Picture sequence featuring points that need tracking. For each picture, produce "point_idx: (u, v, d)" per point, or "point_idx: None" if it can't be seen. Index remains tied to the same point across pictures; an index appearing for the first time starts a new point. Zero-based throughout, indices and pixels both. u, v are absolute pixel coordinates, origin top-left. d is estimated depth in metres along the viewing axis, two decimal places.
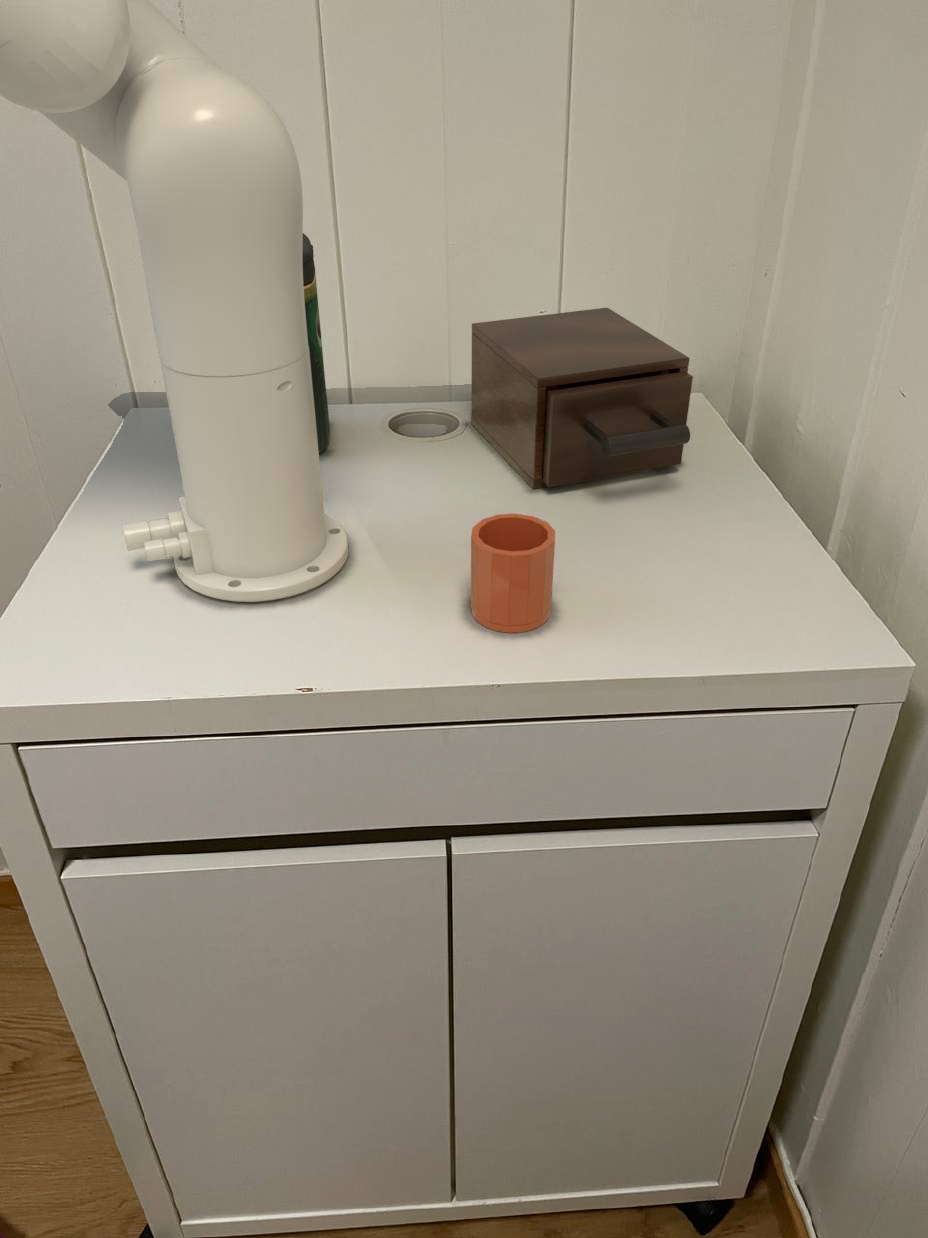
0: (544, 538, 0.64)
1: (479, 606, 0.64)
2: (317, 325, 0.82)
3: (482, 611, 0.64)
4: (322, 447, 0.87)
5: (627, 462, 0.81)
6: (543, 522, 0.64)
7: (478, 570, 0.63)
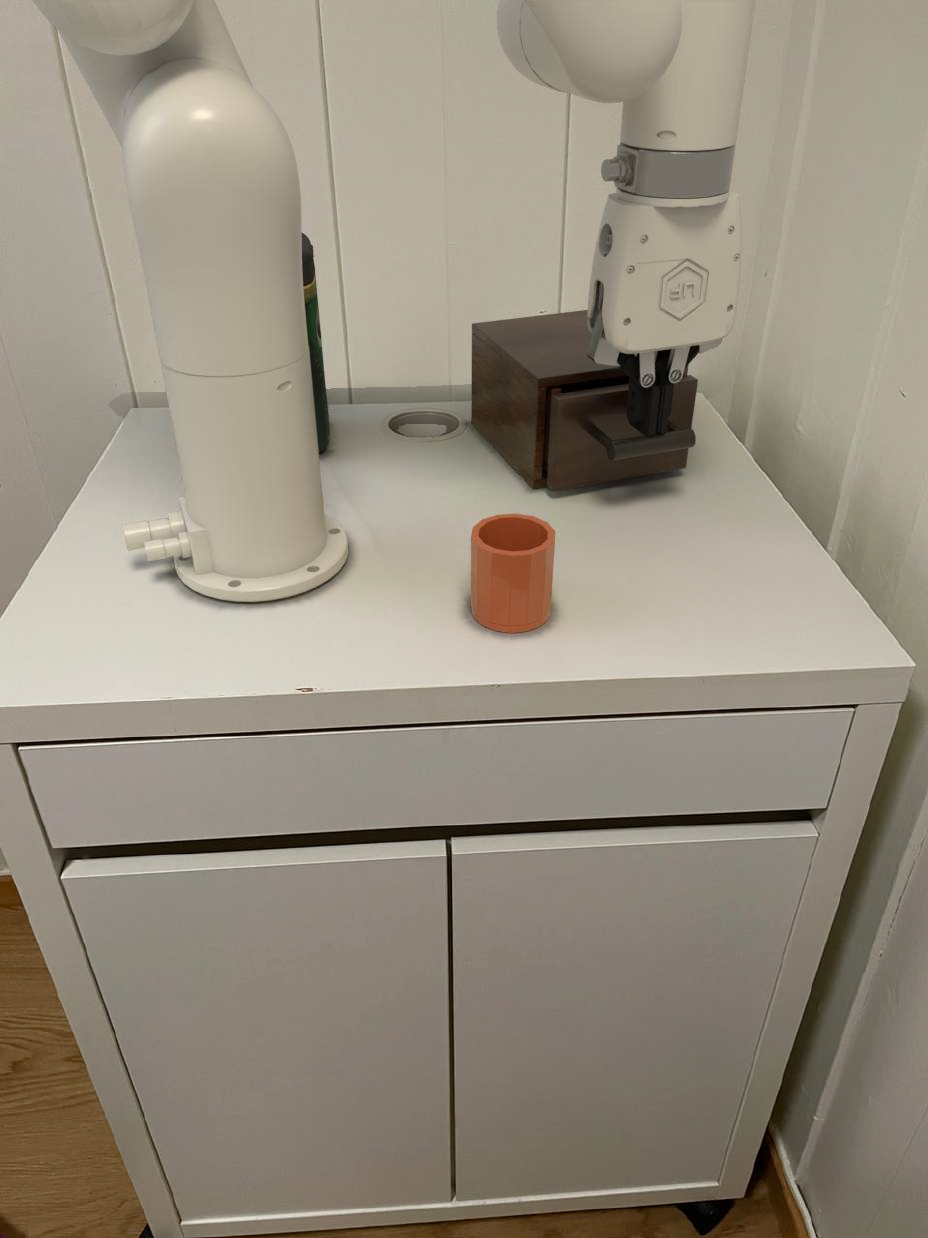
0: (544, 538, 0.64)
1: (479, 606, 0.64)
2: (317, 325, 0.82)
3: (482, 611, 0.64)
4: (322, 447, 0.87)
5: (632, 466, 0.81)
6: (543, 522, 0.64)
7: (478, 570, 0.63)
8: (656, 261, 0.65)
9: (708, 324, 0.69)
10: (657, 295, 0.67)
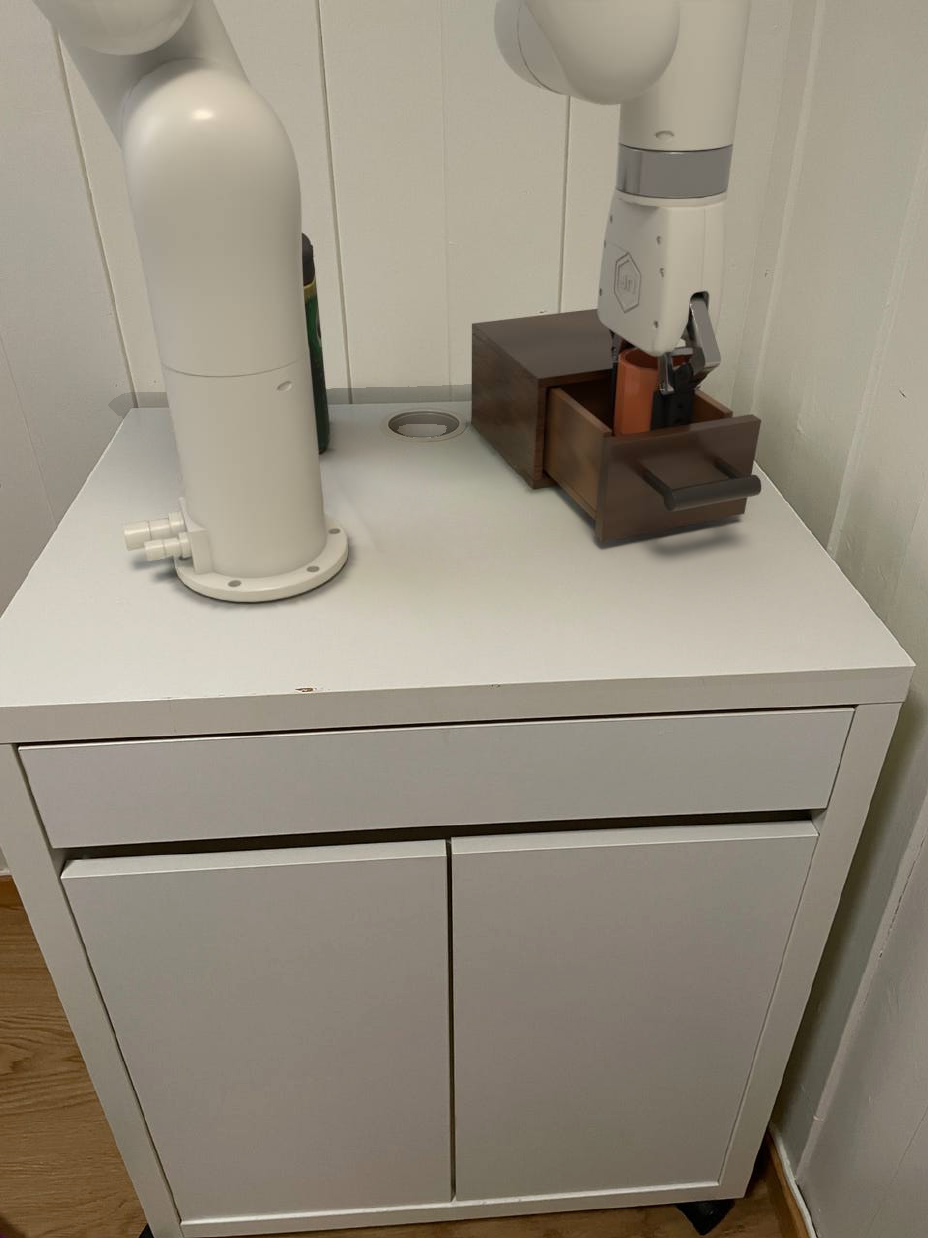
0: (680, 364, 0.74)
1: (624, 424, 0.74)
2: (317, 325, 0.82)
3: (626, 428, 0.74)
4: (322, 447, 0.87)
5: (687, 513, 0.74)
6: None
7: (625, 389, 0.73)
8: (614, 244, 0.70)
9: (640, 330, 0.69)
10: (614, 277, 0.71)
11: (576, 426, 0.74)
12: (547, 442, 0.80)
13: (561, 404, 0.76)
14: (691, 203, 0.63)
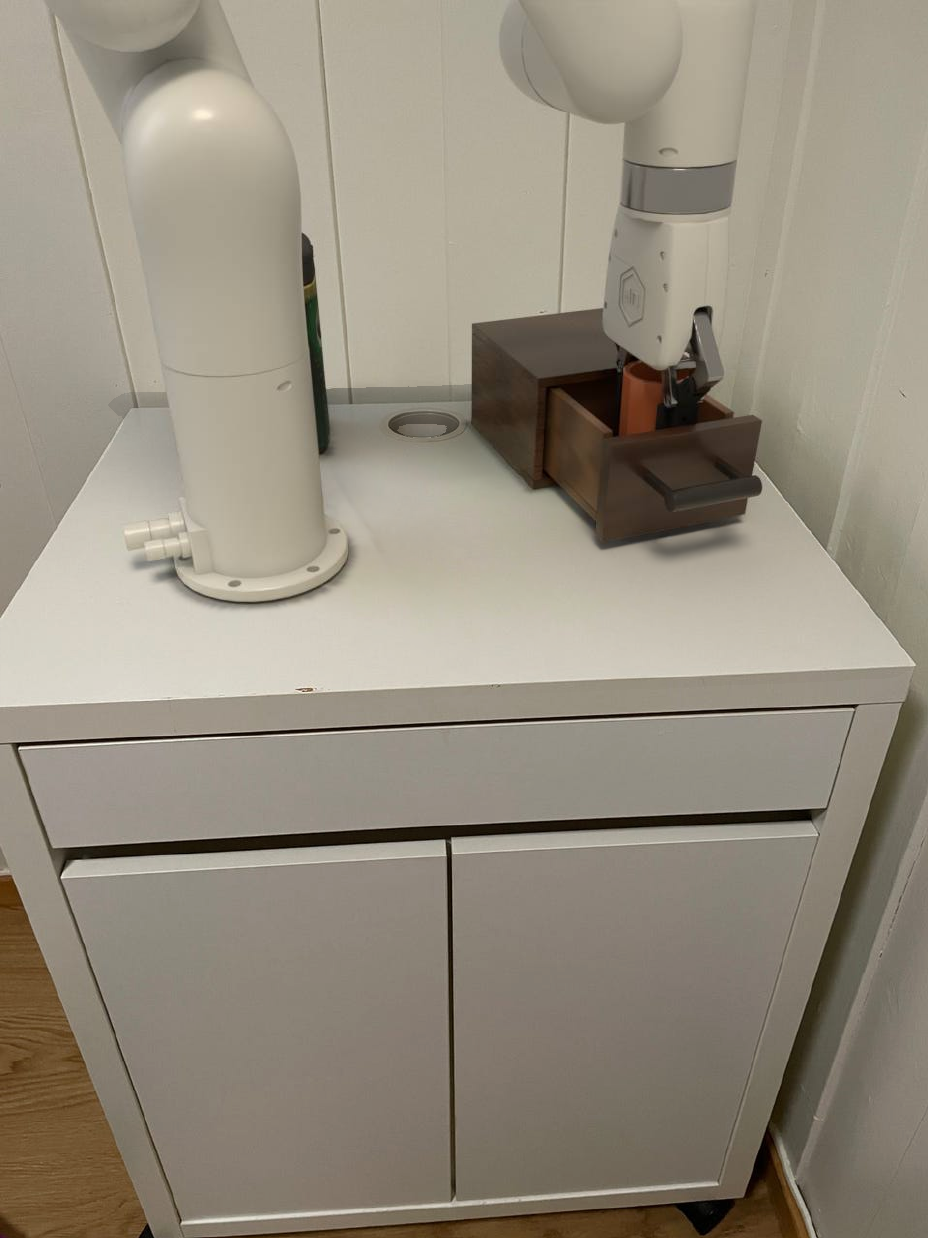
0: (685, 376, 0.74)
1: None
2: (317, 325, 0.82)
3: None
4: (322, 447, 0.87)
5: (688, 513, 0.74)
6: None
7: (630, 402, 0.73)
8: (619, 258, 0.70)
9: (644, 344, 0.69)
10: (618, 291, 0.71)
11: (577, 426, 0.74)
12: (548, 442, 0.80)
13: (562, 405, 0.76)
14: (694, 219, 0.64)
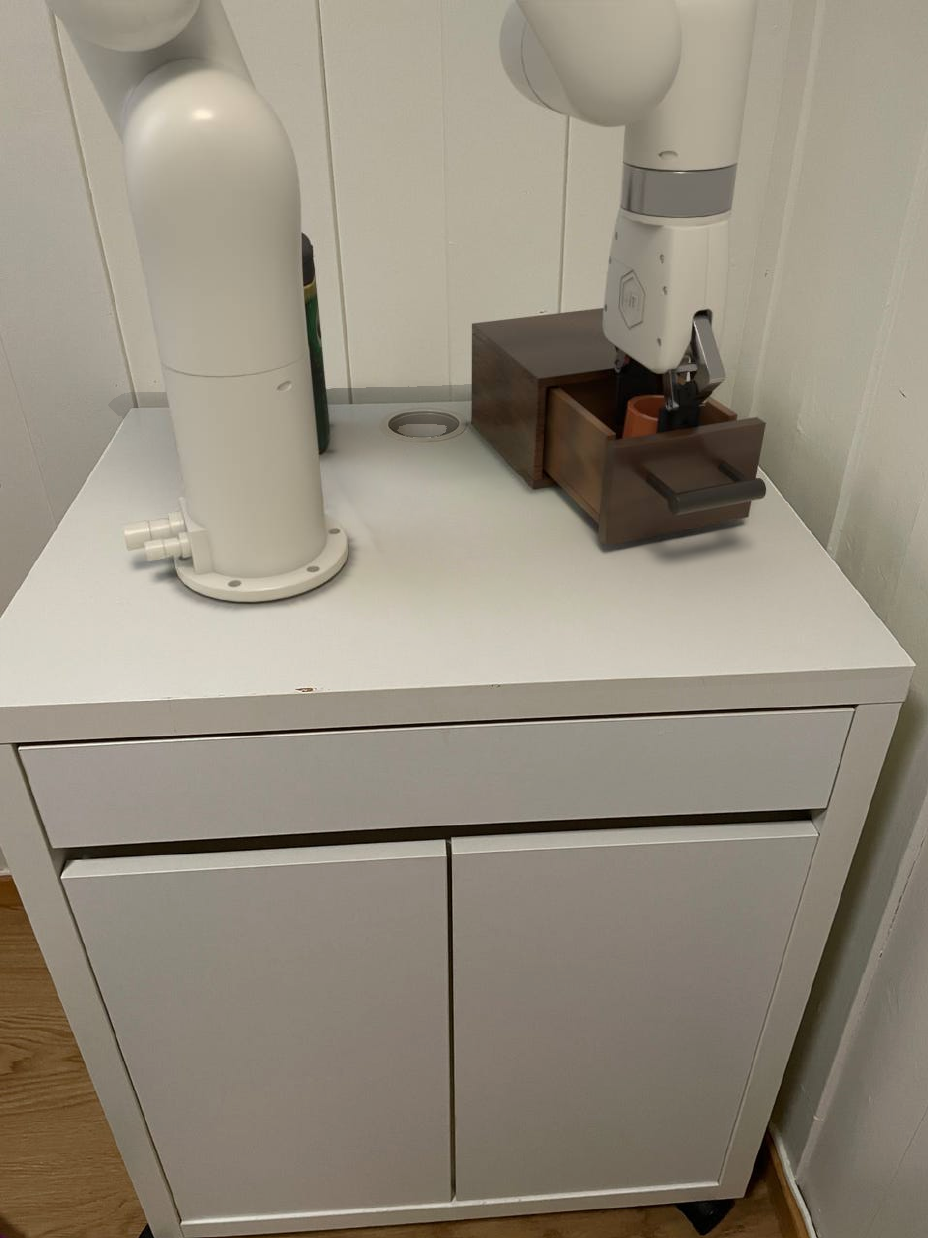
0: None
1: None
2: (317, 325, 0.82)
3: None
4: (322, 447, 0.87)
5: (691, 516, 0.74)
6: None
7: (632, 436, 0.75)
8: (619, 261, 0.70)
9: (644, 347, 0.69)
10: (618, 294, 0.71)
11: (579, 429, 0.74)
12: (550, 445, 0.79)
13: (564, 407, 0.76)
14: (694, 222, 0.64)
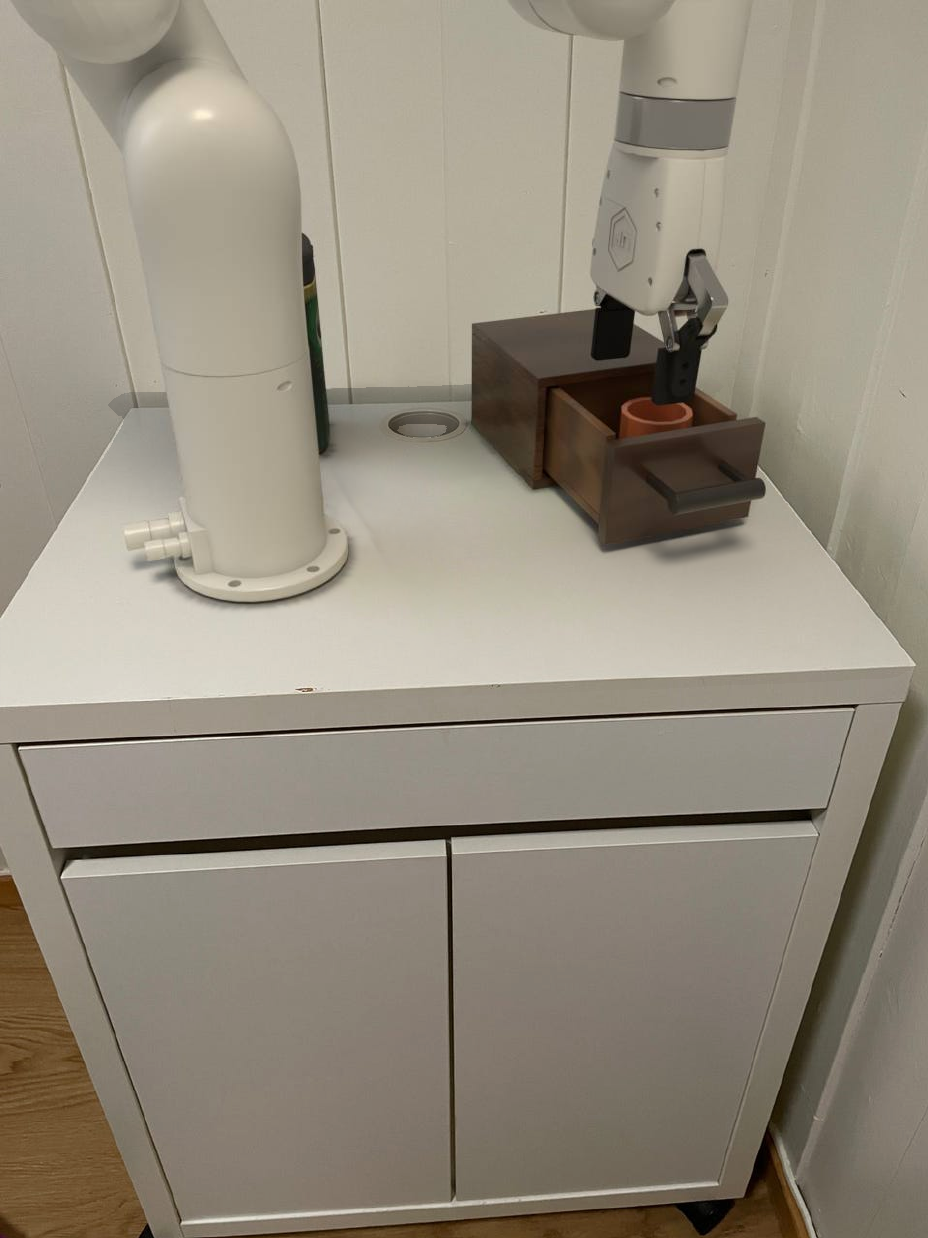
0: (681, 416, 0.76)
1: None
2: (317, 325, 0.82)
3: None
4: (322, 447, 0.87)
5: (691, 516, 0.74)
6: (680, 403, 0.76)
7: None
8: (610, 199, 0.68)
9: (634, 289, 0.67)
10: (608, 235, 0.69)
11: (579, 429, 0.74)
12: (550, 445, 0.80)
13: (564, 407, 0.76)
14: (691, 155, 0.62)
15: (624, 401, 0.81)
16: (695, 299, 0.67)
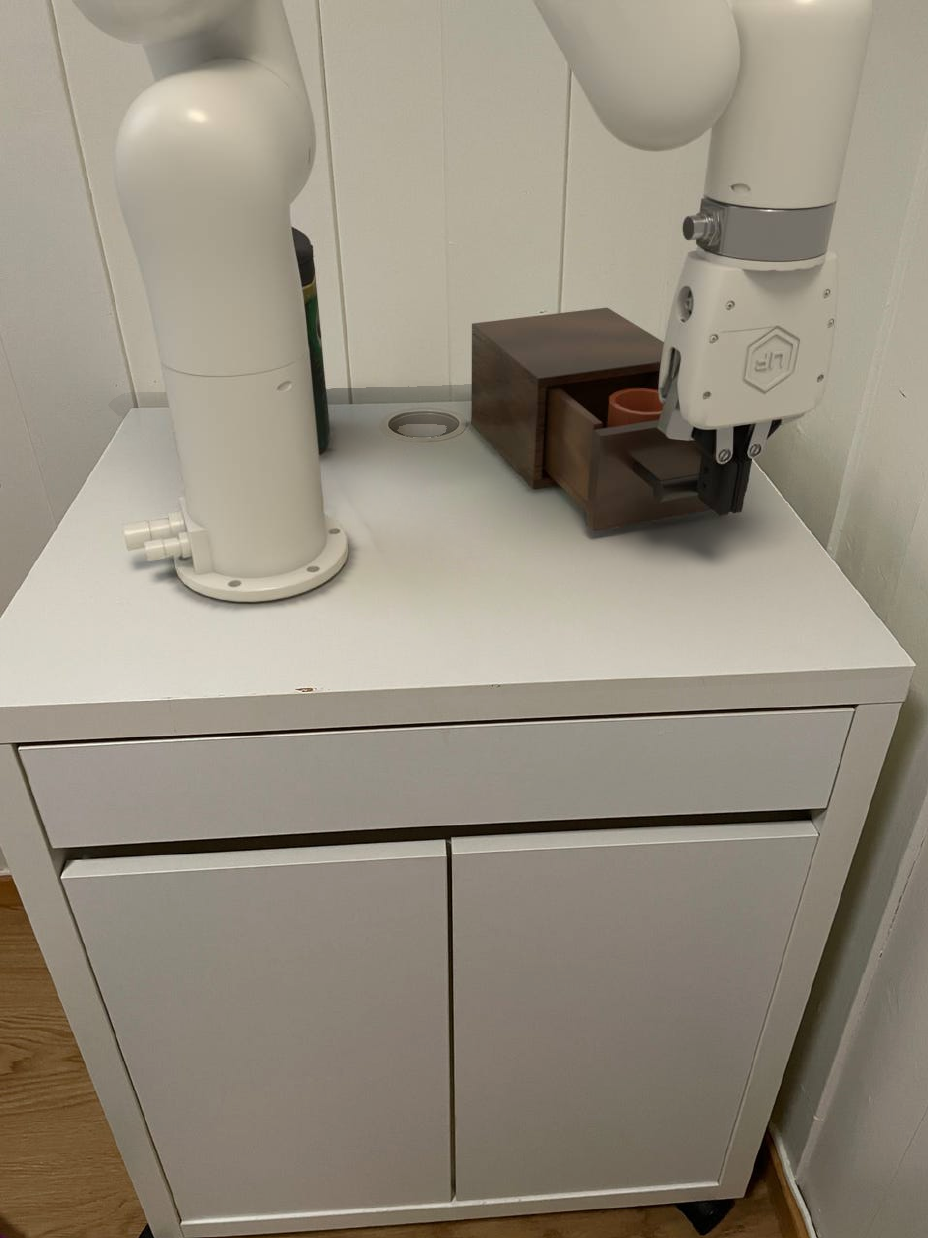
0: None
1: None
2: (317, 325, 0.82)
3: None
4: (322, 447, 0.87)
5: (677, 504, 0.75)
6: None
7: None
8: (742, 329, 0.58)
9: (796, 396, 0.62)
10: (741, 366, 0.59)
11: (567, 419, 0.75)
12: None
13: (553, 398, 0.77)
14: None
15: (613, 392, 0.83)
16: None
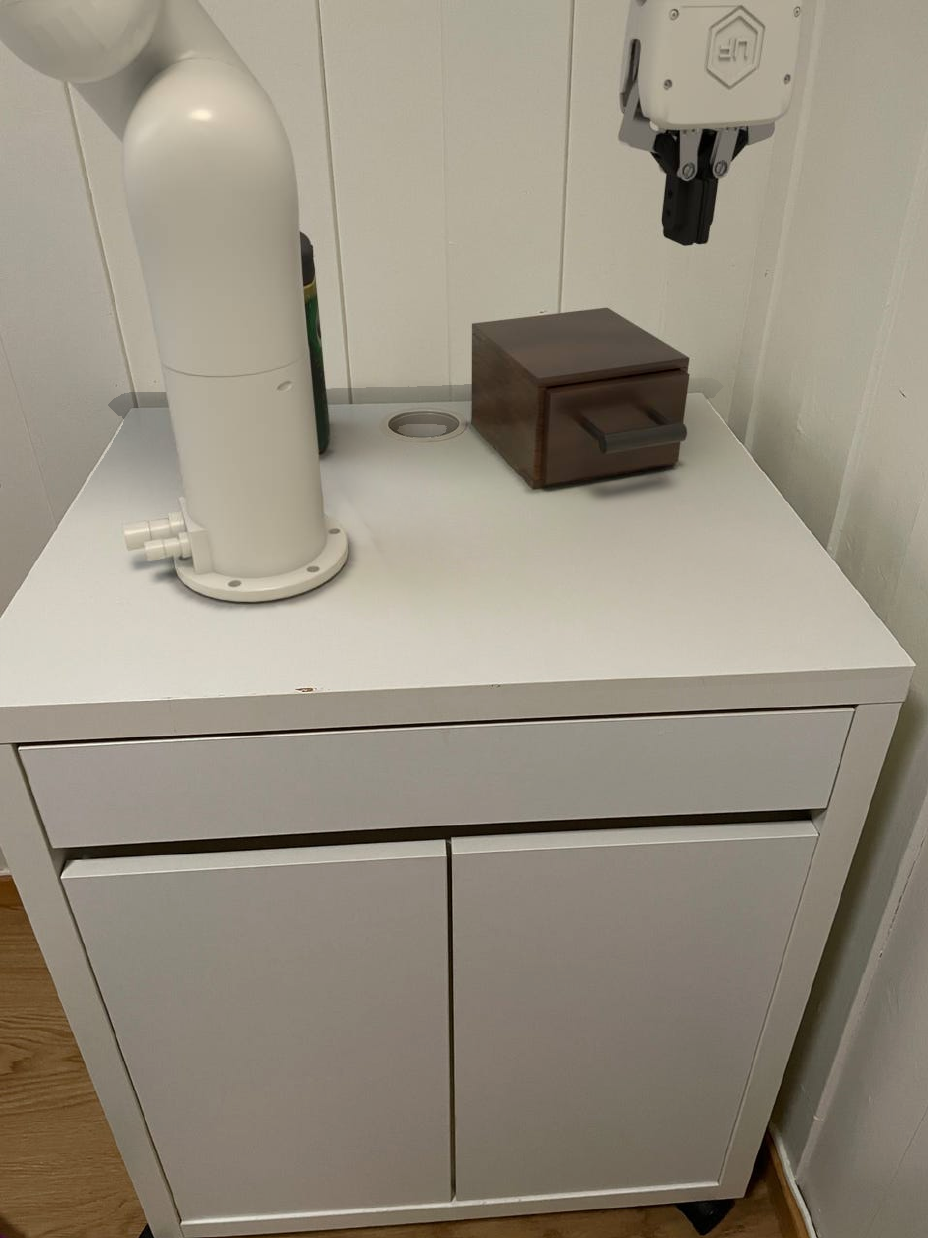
0: None
1: None
2: (317, 325, 0.82)
3: None
4: (322, 447, 0.87)
5: (624, 460, 0.82)
6: None
7: None
8: (704, 5, 0.55)
9: (761, 97, 0.59)
10: (704, 52, 0.57)
11: None
12: None
13: None
14: None
15: None
16: None
